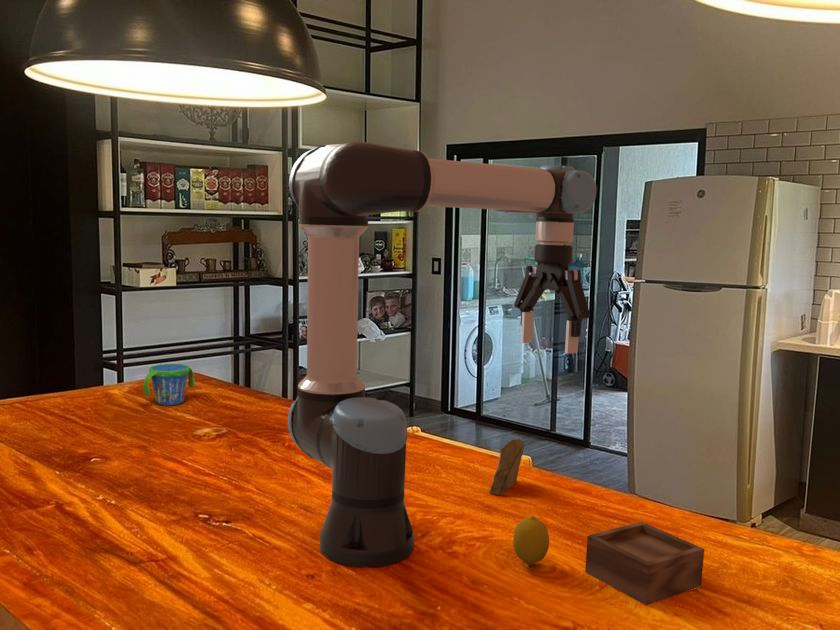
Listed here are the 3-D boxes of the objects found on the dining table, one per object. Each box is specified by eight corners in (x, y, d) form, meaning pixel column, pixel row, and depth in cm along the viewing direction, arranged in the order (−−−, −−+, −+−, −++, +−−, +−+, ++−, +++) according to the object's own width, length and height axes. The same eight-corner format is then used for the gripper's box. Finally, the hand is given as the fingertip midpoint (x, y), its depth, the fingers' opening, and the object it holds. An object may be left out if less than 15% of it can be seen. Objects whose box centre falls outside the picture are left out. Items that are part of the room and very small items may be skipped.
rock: (506, 490, 150) (542, 474, 156) (485, 450, 153) (521, 435, 159) (477, 508, 158) (512, 492, 164) (458, 469, 161) (492, 455, 167)
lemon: (524, 554, 127) (526, 507, 126) (554, 565, 123) (557, 516, 122) (505, 565, 123) (507, 516, 122) (535, 576, 119) (538, 525, 118)
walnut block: (645, 607, 111) (648, 565, 111) (585, 574, 121) (587, 535, 121) (701, 588, 118) (704, 548, 117) (639, 558, 128) (641, 521, 127)
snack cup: (154, 411, 210) (153, 373, 209) (133, 404, 217) (133, 367, 216) (204, 402, 222) (204, 366, 221) (184, 395, 229) (184, 361, 227)
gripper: (612, 246, 151) (605, 356, 153) (528, 241, 172) (523, 338, 174) (583, 246, 147) (577, 358, 149) (500, 240, 168) (496, 339, 170)
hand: (548, 347), depth 162 cm, fingers open, 13 cm apart
